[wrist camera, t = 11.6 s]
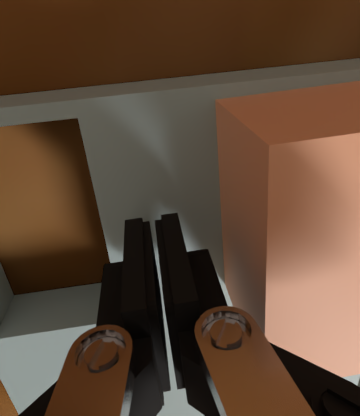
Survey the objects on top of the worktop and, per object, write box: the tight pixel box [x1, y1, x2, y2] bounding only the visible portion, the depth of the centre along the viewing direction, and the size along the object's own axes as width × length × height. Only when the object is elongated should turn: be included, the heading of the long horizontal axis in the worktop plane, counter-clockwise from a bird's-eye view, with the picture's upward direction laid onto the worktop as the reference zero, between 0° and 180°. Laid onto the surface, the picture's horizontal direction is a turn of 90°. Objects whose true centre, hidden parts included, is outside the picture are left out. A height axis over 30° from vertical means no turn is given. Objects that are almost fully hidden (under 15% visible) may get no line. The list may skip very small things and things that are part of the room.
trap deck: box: [0, 58, 360, 416], centre depth 15 cm, size 32×18×2 cm, turn 95°
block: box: [215, 81, 360, 377], centre depth 10 cm, size 7×7×4 cm
